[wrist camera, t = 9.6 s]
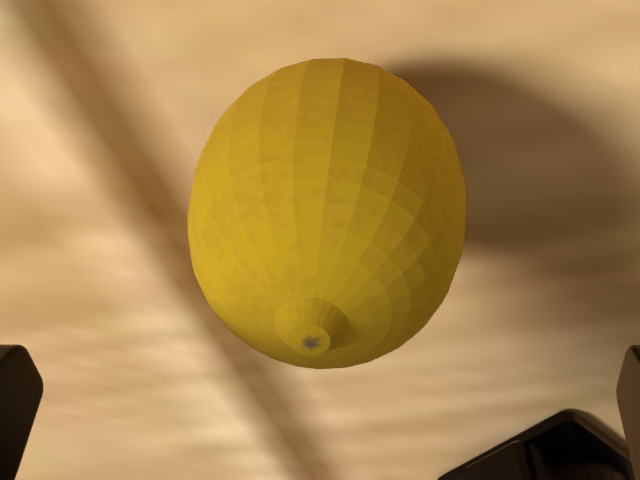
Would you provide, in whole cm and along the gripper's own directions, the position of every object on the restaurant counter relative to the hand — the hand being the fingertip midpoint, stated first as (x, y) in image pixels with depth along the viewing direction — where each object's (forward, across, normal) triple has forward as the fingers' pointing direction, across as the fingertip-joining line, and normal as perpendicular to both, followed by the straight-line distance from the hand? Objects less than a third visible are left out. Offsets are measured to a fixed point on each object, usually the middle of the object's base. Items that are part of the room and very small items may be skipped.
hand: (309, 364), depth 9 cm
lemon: (+8, 0, 0) cm, 9 cm away
